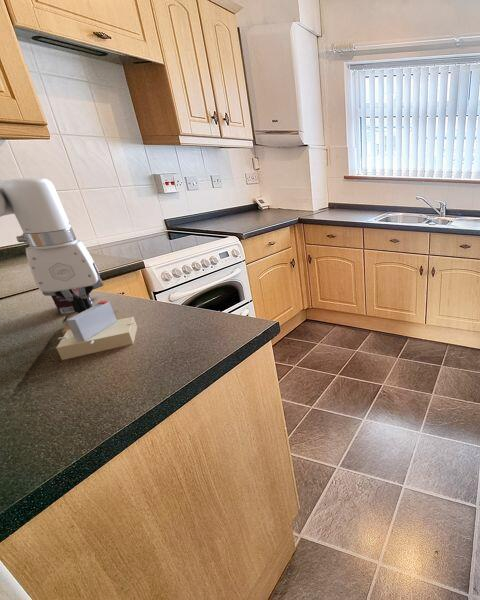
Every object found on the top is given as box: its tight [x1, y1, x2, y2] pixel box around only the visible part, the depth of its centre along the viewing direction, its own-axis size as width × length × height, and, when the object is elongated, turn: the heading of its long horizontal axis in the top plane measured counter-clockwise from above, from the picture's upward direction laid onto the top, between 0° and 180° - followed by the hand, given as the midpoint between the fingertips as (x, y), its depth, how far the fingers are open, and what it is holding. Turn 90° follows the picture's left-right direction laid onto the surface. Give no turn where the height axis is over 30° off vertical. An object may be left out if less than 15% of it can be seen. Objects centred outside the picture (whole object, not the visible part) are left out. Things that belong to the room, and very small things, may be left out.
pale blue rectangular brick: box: [66, 300, 118, 341], centre depth 73 cm, size 9×2×5 cm, turn 1°
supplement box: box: [50, 288, 94, 319], centre depth 88 cm, size 9×5×16 cm, turn 27°
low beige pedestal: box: [55, 316, 138, 361], centre depth 75 cm, size 13×13×3 cm
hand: (85, 313), depth 81 cm, fingers closed
